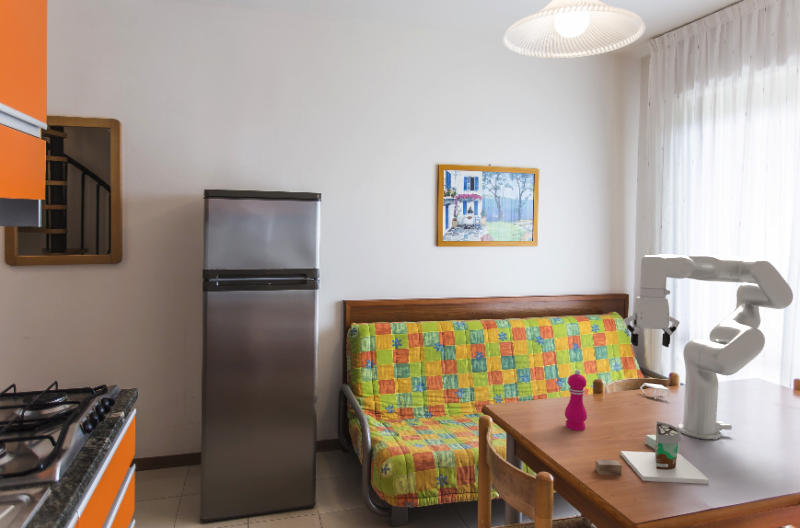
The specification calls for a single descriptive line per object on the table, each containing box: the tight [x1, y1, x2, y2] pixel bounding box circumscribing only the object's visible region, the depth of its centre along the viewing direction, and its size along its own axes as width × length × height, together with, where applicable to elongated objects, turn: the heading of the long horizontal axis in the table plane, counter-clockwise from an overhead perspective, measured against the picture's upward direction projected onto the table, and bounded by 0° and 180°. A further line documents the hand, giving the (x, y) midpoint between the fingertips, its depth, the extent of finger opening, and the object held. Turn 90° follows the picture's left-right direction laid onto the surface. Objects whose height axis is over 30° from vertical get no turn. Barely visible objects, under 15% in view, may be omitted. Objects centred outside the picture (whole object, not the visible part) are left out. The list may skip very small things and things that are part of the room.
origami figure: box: [639, 382, 670, 402], centre depth 208 cm, size 12×8×5 cm
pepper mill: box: [564, 369, 588, 432], centre depth 171 cm, size 7×7×20 cm
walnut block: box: [594, 459, 623, 477], centre depth 139 cm, size 6×3×3 cm, turn 87°
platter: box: [620, 450, 710, 485], centre depth 142 cm, size 17×16×1 cm
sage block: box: [645, 434, 656, 450], centre depth 157 cm, size 6×3×3 cm, turn 12°
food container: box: [654, 421, 683, 470], centre depth 142 cm, size 12×6×10 cm, turn 155°
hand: (650, 345), depth 163 cm, fingers open, 9 cm apart
